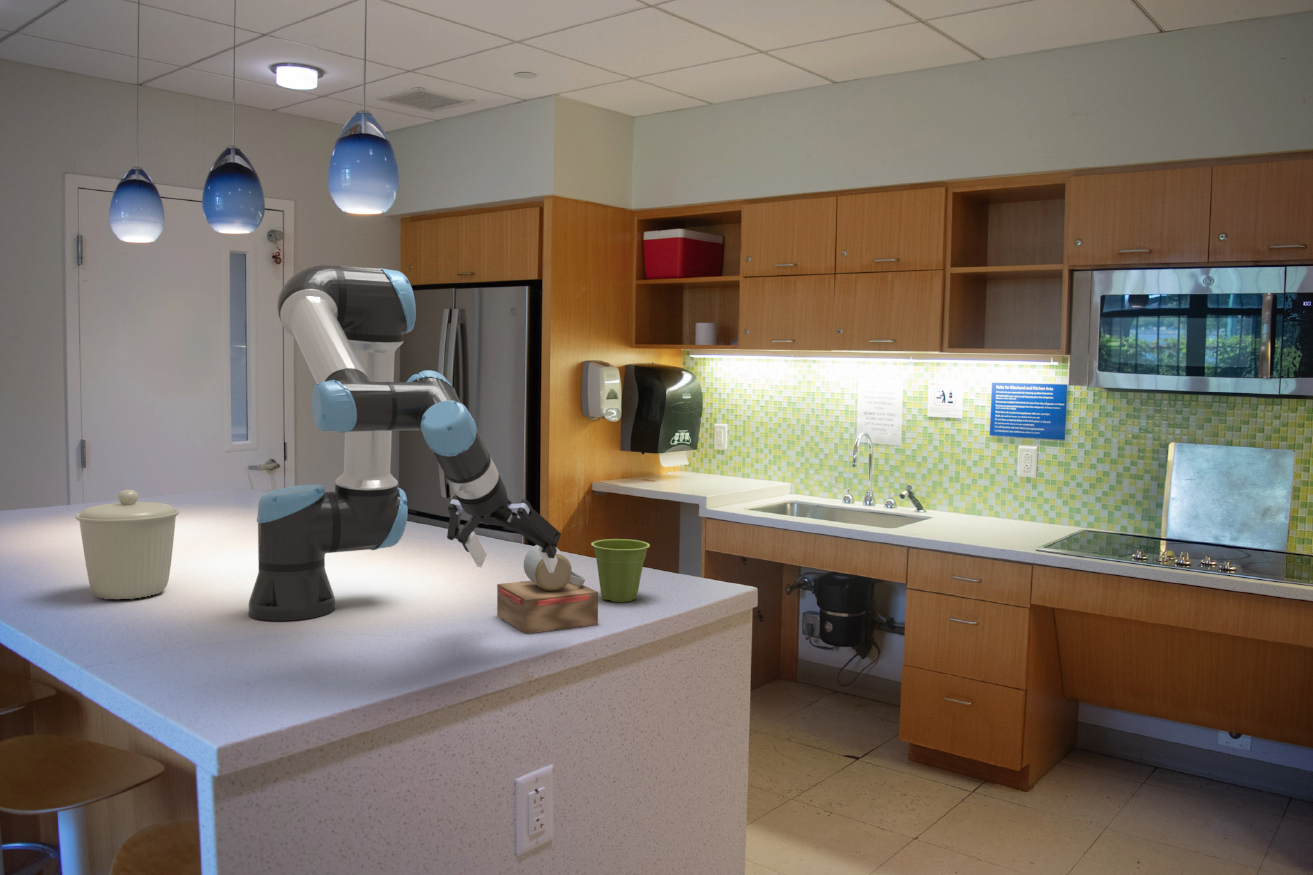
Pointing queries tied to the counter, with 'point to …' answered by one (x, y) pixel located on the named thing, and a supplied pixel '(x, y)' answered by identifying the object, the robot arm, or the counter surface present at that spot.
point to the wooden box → (546, 606)
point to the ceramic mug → (547, 580)
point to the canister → (128, 546)
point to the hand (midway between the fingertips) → (517, 563)
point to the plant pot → (619, 567)
